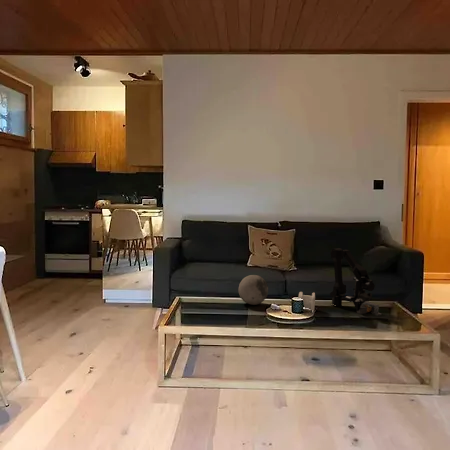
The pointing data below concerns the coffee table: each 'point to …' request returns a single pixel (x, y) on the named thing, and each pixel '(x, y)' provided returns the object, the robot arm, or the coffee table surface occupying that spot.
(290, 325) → the coffee table surface
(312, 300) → the cable organizer
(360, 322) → the coffee table surface
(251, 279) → the moon model
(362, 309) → the plug
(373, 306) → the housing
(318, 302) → the coffee table surface
